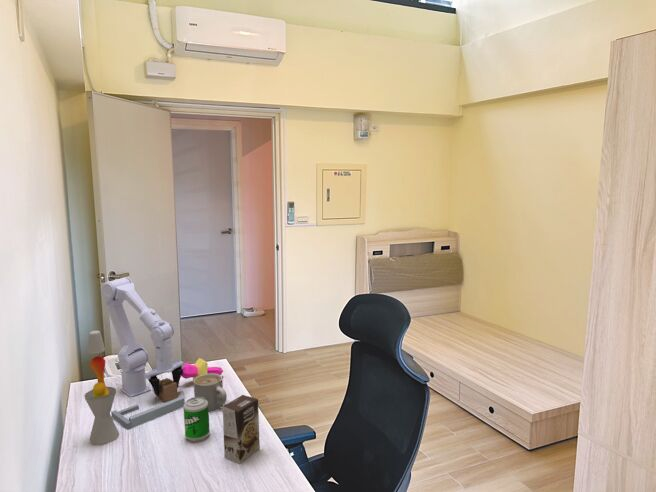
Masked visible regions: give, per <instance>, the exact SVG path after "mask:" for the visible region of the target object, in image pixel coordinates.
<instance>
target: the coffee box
mask: <svg viewBox="0 0 656 492" xmlns="http://www.w3.org/2000/svg"><path fill="white" fill-rule="evenodd" d="M259 414H260V413H259V399H258V398H256V397H253V396H252V397H251V396H247V395H245V394H242V395H240V396H239V397H237V398H235V399H233V400H231V401H230V402H228V403H226V404H223V406H222V422H223V426H222V427H223V447H224V448H223V450H224V458H226V459H228V460H231V461H233V462H234V463H235V462H236V463H237V464H241V463H243V462H244V461H246V460H247V459H248V458H249V457H250V456H252V455H253V454H254V453H256V452H257V451H258V450H260V448H261V447H260V445H261V444H260V443H261V442H260V419H259V418H260V416H259Z"/></svg>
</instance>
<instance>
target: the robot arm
mask: <svg viewBox="0 0 656 492" xmlns="http://www.w3.org/2000/svg"><path fill="white" fill-rule="evenodd" d="M135 287H136V286H135V283H134V282H133V281H132V279H131V278H130V277H128V276H124V277H121V278H117V279H114V280H110V281H105V282H103V283H102V286H101V289H100V292H101V295H102V298H103V300H104V303H105V307H106V309H107V312H108V315H109V317H110V320H111V322H112V325H113V328H114V330H115V334H116V336H117V339H118V342H119V344H120V347H121V348H120V350H119V352H118V353H117V358H118V366H119V368H120V370H121V384H122V386H121V388H120V391H121V392H123V393H124V394H126V396H129V397H131V398H133V397H135V396H138V395H141V394H144V393H146V392H149V391H151V390H152V389H153V392H154V395H155V396H156V395H157V396H158V395H159V381H160V380H161V379H159V378H158V376H160V375H162V374H166V373H167V374H170V373H171V374H172V376H171V377H172V381H174V382H176V383H177V389H179V384H180V380H181V377H182V376H181V375H182V373H183V369H182V368H183V367H184V364H185V362H184V361H182V360H181V361H177V362H176V361H175V362H173V350H172V348H173V347H172V338H171V337H173V336H174V333H175V328H174V326H173V325H172V323H171V322H167V321H166V320H164V319H162V318H161V316H159V314H158V313H157V312H156V310H155V309H154V308H151V307H150V308H149V307H148V306H147V304H145V302H144V301H143V300H142V298H141V296H140V295H139V293H138V292H137V291H136V289H135ZM124 301H127V303H128V304H129V305H131V307H132V308H134V310H136V312H138V314H139V320H140V321H141V322H142V323H143V326H145V327H146V328H147V329H148V331H149V332H150V334H149V336H150V339H151V340H152V342H153V343H152V344H153V346H154V349H155V364H156V367H155V368H153V369H150V370H149V371H147V372H146V367H147V364H148V362H149V357H150V356H149V353H148V352H147V350H146V349H145V348H144V345H143V344H142V343H139V342H138V341H137V340H136V338H135V335H134V333H133V329H132V327H131V325H130V322H129V319H128V317H127V313H126V311H125V308H124V306H123V303H124ZM147 380H148V382H149V383H150V385H151V388H152V389H151V388H150V387H148V386H147Z"/></svg>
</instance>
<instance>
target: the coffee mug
mask: <svg viewBox="0 0 656 492" xmlns="http://www.w3.org/2000/svg"><path fill="white" fill-rule="evenodd" d="M193 393H194V394H193V395H194V397H203V398H204V399H205V400H207V401H208V412H209V413H211V412H216V411H218V410H221V408H223V406H224V405H225V403H227V391H226V390H225V388H224V387H223V376H222V374H221V375H219V374H204V375H200V376H198V377H196V378H195V379H194V381H193Z"/></svg>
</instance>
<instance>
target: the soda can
mask: <svg viewBox="0 0 656 492" xmlns="http://www.w3.org/2000/svg"><path fill="white" fill-rule="evenodd" d="M182 408H183V418H184V419H183V420H184V436H185V438H186V440H188V441H190V442H192V443H196V442H201V441H203V440H206V439H207V437H208V436H209V435H210V432H211V431H210V430H211V429H210V419H209V418H210V415H209V413H210V412H208V401H207V400H205V399H204V398H203V397H191V398H188V399H187V400H186V401H185V404H184V405H183V407H182Z"/></svg>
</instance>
